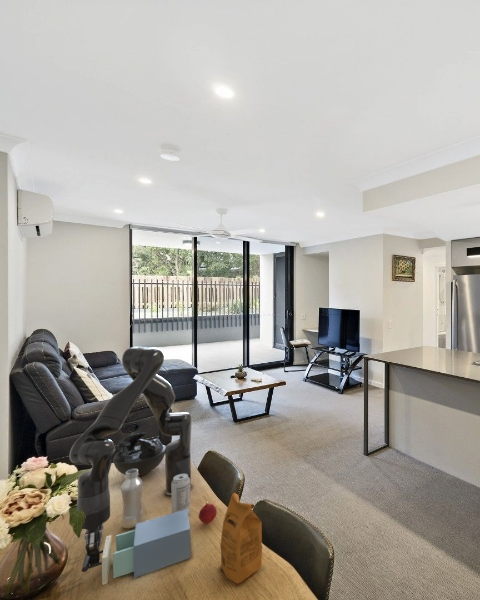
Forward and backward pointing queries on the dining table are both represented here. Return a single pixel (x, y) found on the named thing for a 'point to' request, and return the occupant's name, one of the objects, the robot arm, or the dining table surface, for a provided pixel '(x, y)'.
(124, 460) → the coal bowl
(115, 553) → the drawer
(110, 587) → the dining table surface
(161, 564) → the cabinet
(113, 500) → the dining table surface
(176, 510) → the energy drink can
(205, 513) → the onion
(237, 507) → the coffee package
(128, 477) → the plastic bottle
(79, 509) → the robot arm
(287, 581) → the dining table surface
